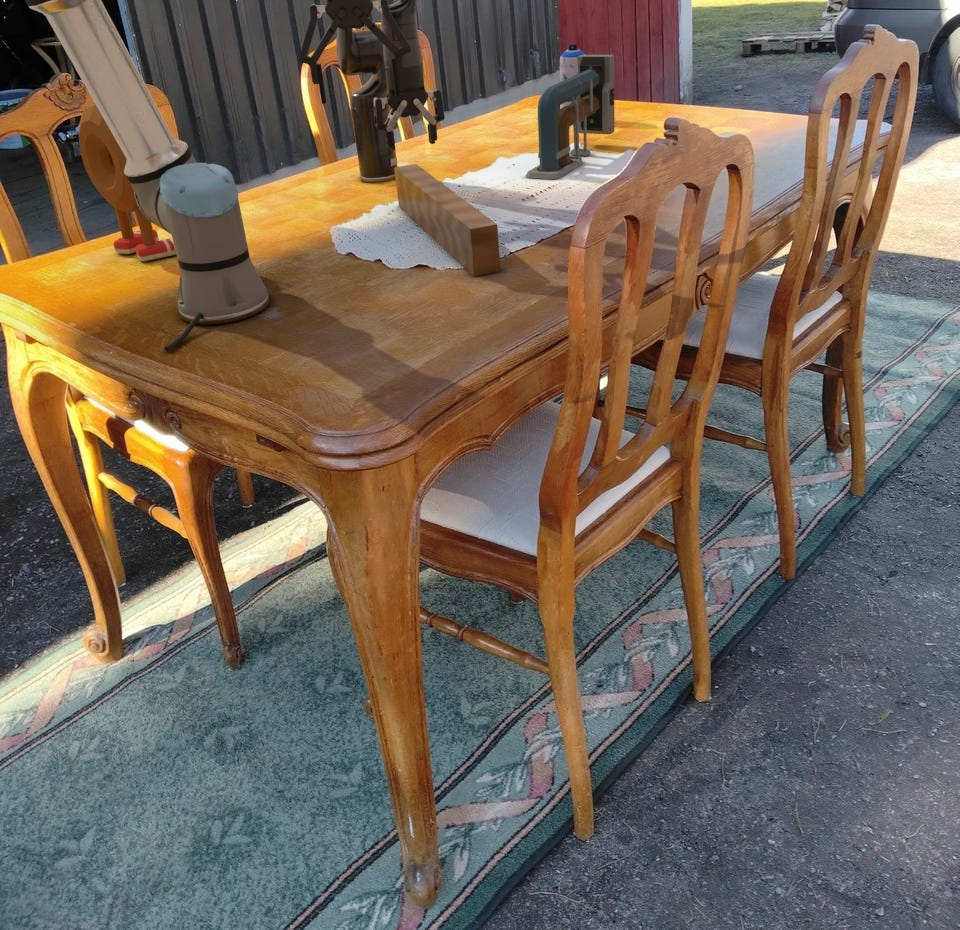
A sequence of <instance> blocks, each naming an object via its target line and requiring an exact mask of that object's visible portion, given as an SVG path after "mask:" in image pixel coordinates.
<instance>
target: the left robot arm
mask: <svg viewBox="0 0 960 930" xmlns="http://www.w3.org/2000/svg"><path fill="white" fill-rule="evenodd" d="M24 1H25V3H26V4H27V7H28V8H29V9H31V10H33V11H36V12H38V13H40V14H43V16H45V18H46V19H47V21H48V23H49V24H50V27H51V28H52V30H53V32H54V33H55V35H56V37H57V38H58V40H59V42H60V44H61V45H62V47H63V49H64V51H65V53H66V54H67V56H68V58H69V60H70V61H71V64H72V65H73V67H74V69H75V71H76V72H77V74H78V76H79V77H80V79H81V81H82V83H83V84H84V86H85V88H86V90H87V92H88V93H89V95H90V97H91V99H92V100H93V103H95V104H96V106H97V107H98V109H99V111H100V113H101V114H102V116H103V118H104V120H105V122H106V123H107V125H108V127H109V129H110V130H111V132H112V134H113V136H114V137H115V139H116V141H117V143H118V144H119V146H120V148H121V150H122V152H123V153H124V155H125V157H126V159H127V162H126V165H125V169H124V173H125V175H126V177H127V179H128V180H129V182H130V184H131V186H132V187H133V189H134V194H135V199H136V202H137V204H138V206H139V208H140V210H141V211H142V213H143V214H144V215H145V217H146V218H147V219H148V220H149V221H151V224H152V225H155V226H157V227H158V228H161V229H162V230H163V231H165V232H166V233H168V234H169V235H171V238H173V242H174V246H175V251H176V255H175V256H176V258H177V262H178V266H179V283H178V294H177V310H178V314H179V318H180V319H182V320H183V321H184V322H186V323H189V324H188V325H187V327H186V328H185V329H184V330H183V332H182V333H181V334H180V335H179V336H178V337H176V339H174V340H172V341H171V342H170V343H168V344H167V345H165V346H164V350H165V351H166V352H170V351H171V350H172V349H174V348H175V347H176V346H178V345H179V344H181V343H182V342H183V341H184V340H185V339H186V338H187V337H188V336H189V334H190V333H191V332H192V330H193V329H194V327H195V326H197V325H202V326H203V325H204V326H205V325H206V326H210V325H222V324H230V323H233V322H239V321H241V320H245V319H248V318H251V317H253V316H256V315H258V314H260V312H263V311H264V310H265V309H266V308H267V307H268V306H269V305H270V296H269V292H268V290H267V287H266V284H265V283H264V282H263V280H262V278H261V276H260V274H259V272H258V270H257V269H256V267H255V265H254V264H253V262H252V260H251V257H250V251H249V246H248V241H247V236H246V232H245V226H244V225H245V224H244V220H243V216H242V211H241V206H240V201H239V191H238V188H237V185H236V183H235V179H234V176H233V174H232V172H231V171H229V169H228V168H226V167H224V166H222V165H219V164H216V163H207V162H198V161H196V158H195V156H194V155H193V153H192V151H191V149H190V147H189V145H188V143H187V142H185V141H183V140H181V139H178V138H176V137H174V135H173V134H172V132H171V130H170V128H169V126H168V124H167V123H166V120H165V118H164V116H163V115H162V113H161V111H160V109H159V107H158V105H157V104H156V102H155V100H154V98H153V95H152V94H151V91H150V90H149V88H148V86H147V85H146V83H145V81H144V79H143V77H142V75H141V73H140V71H139V69H138V68H137V65H136V63H135V62H134V59H133V58H132V56H131V54H130V52H129V51H128V49H127V47H126V44H125V43H124V41H123V39H122V37H121V35H120V33H119V31H118V30H117V28H116V25H115V24H114V22H113V20H112V18H111V16H110V14H109V12H108V11H107V9H106V7H105V5H104V2H103V1H102V0H24ZM388 5H389V3H388V0H326V3H325V4H323V5H322V4H321V5H320V4H316V3H312V4H311V5H310V7H309V17H310V19H309V23H308V25H307V29H306V33H305V36H304V39H303V43H302V45H301V50H300V52H299V56H298V61H299V62H300V64H301V63H302V64H306V65H307V66H309V68H310V75H311V76H310V77H311V82H312V84H313V85H318V88H319V93H320V101H321V104H322V105H325V104H327V96H326V95H327V94H326V89H325V88H326V87H325V82H324V75H323V67H322V63H318V61H319V60H320V58H321V56H322V55H323V53H324V51H325V50H326V48H327V47H328V44H329V43H330V41H331V39H332V38H333V36H334V34H335V33H336V30H337V28H338V27H339V28H340V29H342V30H348V29H351V28H353V30H354V29H355V30H358V29H359V30H360V29H361V30H362V28H363V27H364V26H365V27H366V28H367V30H371V31H372V32H373V33H374V34H375V36H376V37H377V38H378V39H379V40H380V41H381V42H382V43H383V44H384V45H385V46H386V47H387V48H388V49H389V50H390V51H391V52H392V53H393V54H394V55H395V57H391V61H392V70H393V79H394V88H395V96H396V97H399V96H400V94H399V84H398V76H403V63H402V57H403V55H405V54H407V53H409V52H410V51H411V47H410V45H409V44H408V42H407V40H406V39H405V37H404V35H403V33H402V32H401V30H400V28H399V27H398V25H397V23H396V21H395V20H394V18H393V16H392V15H391V13H390V11H389V7H388ZM374 8H375V9H376V10H377V12H378V13H380V14H381V13H383V14H384V16H385V18H386V20H387V22H388V23H389V25H390V27H391V29H392V30H393V32H394V34H395V35H396V37H397V39H398V40H399V42H400V44H401V45H402V47H401V48H398V47H397V46H396V45H395V44H394V43H393V42H392V41H391V40H390V39H389V38H388V37H387V36H386V35H385V34H384V33H383V32H382V29H381V28H380V27H379V26H378V25H377V24H376V23H375V22H374V21H373V20H372V19H371V18H370V16H371V14H372V11H373V10H374ZM324 13H325V14H326V16H328V17H329V19H331V23H330V24H329V25H328V28H327V29H326V31H325V33H324V35H323V36H322V38H321V39H320V41H319V43H318V44H317V46H316V48H315V50H314V51H313V53H312V55H311V56H310V55H308V53H309V51H310V47H311V43H312V40H313V37H314V35H315V34H314V33H315V30H316V26H317V23H318V19H321V18H322V16H323V14H324Z"/></svg>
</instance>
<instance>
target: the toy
mask: <svg viewBox="0 0 960 930" xmlns="http://www.w3.org/2000/svg"><path fill="white" fill-rule="evenodd" d="M78 146H79V152H80V155H81V156H80V157H81V160H82V163H83V166H84V169H85V171H86V173H87V175H88V177H89V179H90V181H91V184H93V186H94V187H95V189H96V190H97V191H98V193H99V194H100V195H101V196H102V198H104V200H105V201H106V202H107V203H108V204H109V205H111V206H112V207H113V209H114V212H115V215H116V218H117V223H118V226H119V230H120V234H121V237H120V238H118V239H116V240H114V241H113V248H114V252H115V253H117V254H122V255H130V254H134V253H135V254H136V257H137V259H138V260H139V261H141V262H147V261H148V262H149V261H153V260H157V259H164V258H167V257H172V256H177V255H176V251H175V246H174V242H173V238H172V237H169V238H165V239H160V238H159V234H158V232H157V230H156V229H154V228H153V223H152V222H151V221H149V220H148V219H147V218H146V217H145V215H144V214H143V213H142V211H141V210H140V208H139V206H138V204H137V202H136V199H135V194H134V189H133V187H132V186H131V184H130V182H129V180H128V179H127V177H126V175H125V173H124V169H125V165H126V162H127V159H126V157H125V155H124V153H123V152H122V150H121V148H120V146H119V144H118V143H117V141H116V139H115V137H114V136H113V134H112V132H111V130H110V129H109V127H108V125H107V123H106V122H105V120H104V118H103V116H102V114H101V113H100V111H99V109H98V107H97V106H96V104H95V102H93V103H91V104H89V105H88V106H86V107H85V108H84V109H83V110H82V114H81V116H80V120H79V124H78ZM133 212H135V215H136V219H137V223H138V227H139V229H138V230H136V231H134V230H133V226H132V225H133V224H132V220H131V217H130V213H133Z"/></svg>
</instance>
